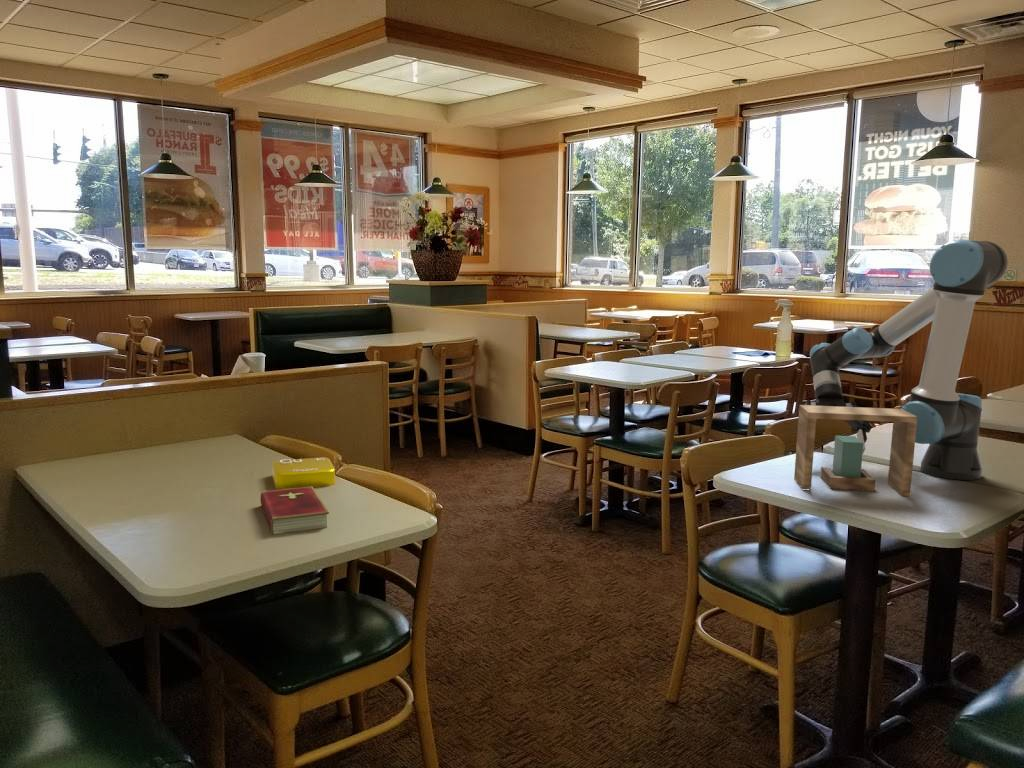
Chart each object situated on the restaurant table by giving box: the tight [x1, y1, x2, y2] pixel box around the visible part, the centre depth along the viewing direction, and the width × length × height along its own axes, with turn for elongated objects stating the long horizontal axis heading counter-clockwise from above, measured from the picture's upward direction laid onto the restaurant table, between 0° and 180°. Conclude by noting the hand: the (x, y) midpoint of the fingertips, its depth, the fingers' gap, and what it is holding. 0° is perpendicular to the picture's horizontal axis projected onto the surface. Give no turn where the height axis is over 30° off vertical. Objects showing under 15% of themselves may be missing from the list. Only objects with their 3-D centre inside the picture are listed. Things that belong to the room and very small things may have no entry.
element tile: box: [271, 456, 336, 490], centre depth 203 cm, size 15×15×5 cm
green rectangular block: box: [831, 435, 864, 477], centre depth 206 cm, size 5×8×12 cm, turn 171°
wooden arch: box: [793, 404, 917, 497], centre depth 203 cm, size 26×14×20 cm, turn 81°
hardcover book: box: [260, 486, 330, 535], centre depth 173 cm, size 12×21×4 cm, turn 24°
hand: (837, 450), depth 216 cm, fingers open, 13 cm apart
